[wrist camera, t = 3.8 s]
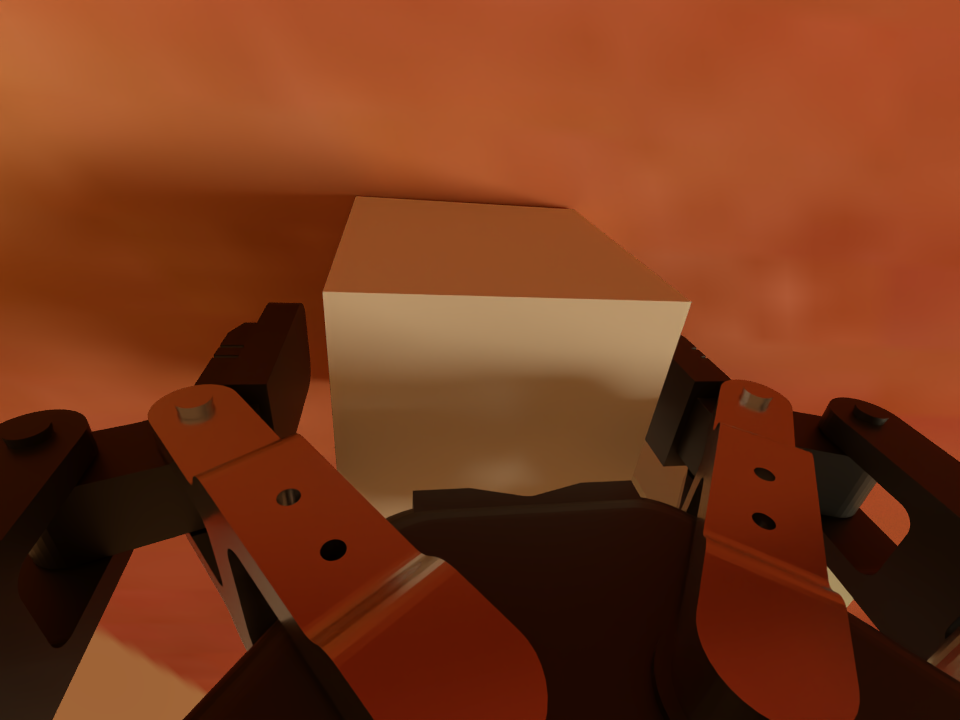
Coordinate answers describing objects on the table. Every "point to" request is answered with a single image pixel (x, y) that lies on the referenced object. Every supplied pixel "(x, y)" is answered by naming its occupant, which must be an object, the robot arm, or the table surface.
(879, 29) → the table surface
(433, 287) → the cream brick
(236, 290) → the table surface
